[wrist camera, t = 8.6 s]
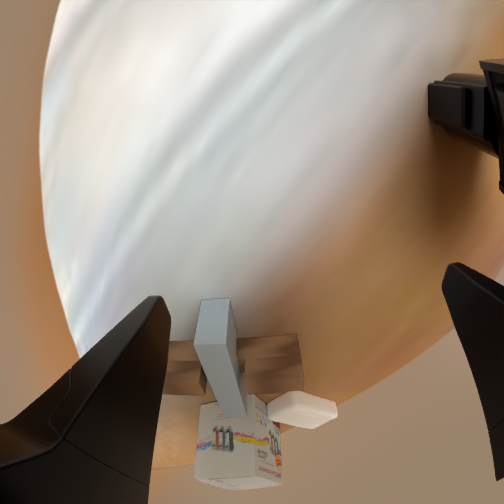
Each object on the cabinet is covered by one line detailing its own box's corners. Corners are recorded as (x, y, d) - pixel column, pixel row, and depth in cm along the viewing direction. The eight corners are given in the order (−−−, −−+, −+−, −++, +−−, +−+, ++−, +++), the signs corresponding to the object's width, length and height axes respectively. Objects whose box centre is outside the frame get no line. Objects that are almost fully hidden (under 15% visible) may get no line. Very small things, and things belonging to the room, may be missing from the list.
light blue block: (229, 297, 23) (226, 343, 19) (247, 379, 30) (247, 416, 26) (201, 299, 23) (193, 344, 19) (226, 380, 30) (224, 417, 26)
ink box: (280, 414, 36) (285, 486, 26) (230, 424, 38) (228, 491, 28) (254, 391, 32) (255, 478, 22) (198, 403, 34) (190, 480, 24)
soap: (264, 402, 34) (265, 421, 31) (292, 385, 32) (294, 406, 29) (309, 414, 37) (312, 431, 34) (337, 400, 35) (340, 417, 32)
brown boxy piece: (297, 333, 26) (303, 376, 22) (296, 348, 27) (302, 390, 23) (157, 341, 26) (147, 380, 22) (165, 355, 28) (156, 393, 24)
